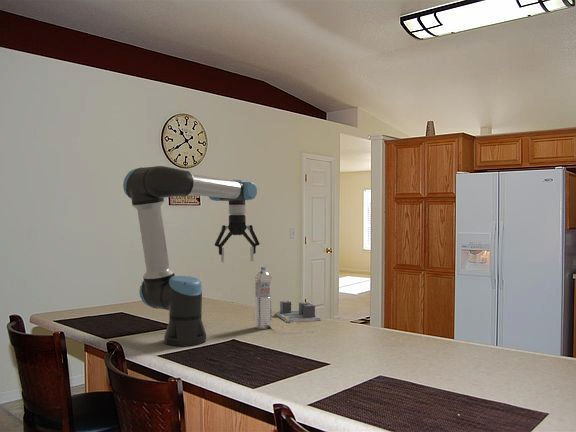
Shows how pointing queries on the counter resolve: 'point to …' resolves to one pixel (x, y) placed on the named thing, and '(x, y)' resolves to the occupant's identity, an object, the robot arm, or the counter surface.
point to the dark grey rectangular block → (308, 311)
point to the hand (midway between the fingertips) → (237, 261)
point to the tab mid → (302, 307)
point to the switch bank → (295, 317)
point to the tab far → (285, 307)
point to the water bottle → (263, 300)
